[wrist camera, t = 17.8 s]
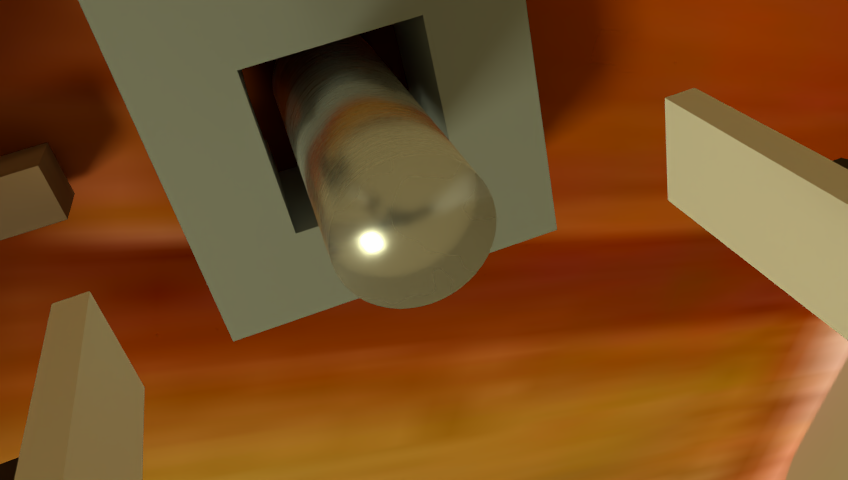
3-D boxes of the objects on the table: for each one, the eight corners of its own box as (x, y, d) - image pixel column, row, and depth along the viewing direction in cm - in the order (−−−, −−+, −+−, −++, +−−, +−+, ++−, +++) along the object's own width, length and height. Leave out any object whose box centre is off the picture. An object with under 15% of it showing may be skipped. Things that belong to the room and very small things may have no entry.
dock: (91, -43, 23) (73, -12, 19) (452, -141, 25) (507, -132, 21) (225, 267, 30) (233, 341, 26) (506, 174, 31) (556, 229, 27)
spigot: (256, 44, 26) (305, 187, 16) (366, 12, 27) (481, 130, 17) (291, 147, 28) (354, 330, 18) (392, 115, 29) (508, 276, 19)
